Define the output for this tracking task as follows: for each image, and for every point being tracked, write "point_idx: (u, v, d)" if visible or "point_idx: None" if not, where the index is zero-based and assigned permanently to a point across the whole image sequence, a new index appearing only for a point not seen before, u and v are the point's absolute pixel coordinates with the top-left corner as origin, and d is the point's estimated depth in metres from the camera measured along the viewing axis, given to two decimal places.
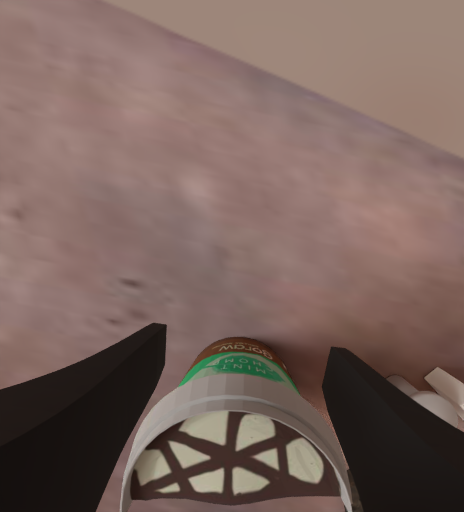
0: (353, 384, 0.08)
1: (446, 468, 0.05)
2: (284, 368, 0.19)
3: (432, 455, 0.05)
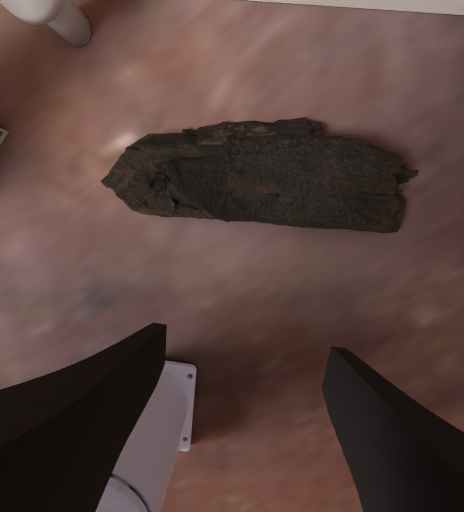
0: (353, 384, 0.08)
1: (446, 468, 0.05)
2: None
3: (432, 455, 0.05)
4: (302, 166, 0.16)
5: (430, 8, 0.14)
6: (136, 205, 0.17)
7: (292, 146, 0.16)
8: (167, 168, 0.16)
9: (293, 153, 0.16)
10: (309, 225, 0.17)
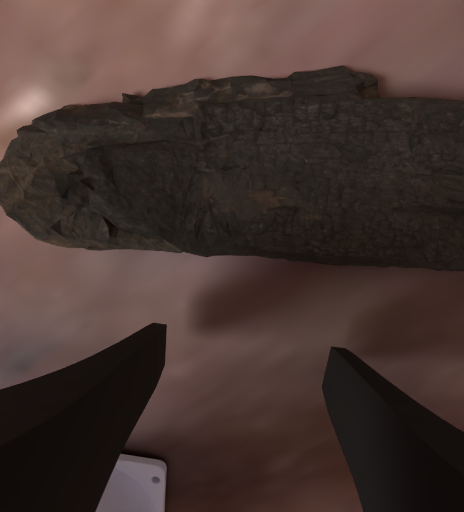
0: (353, 384, 0.08)
1: (446, 468, 0.05)
2: None
3: (432, 455, 0.05)
4: (342, 154, 0.08)
5: None
6: (42, 232, 0.09)
7: (324, 116, 0.08)
8: (87, 163, 0.08)
9: (325, 130, 0.08)
10: (354, 262, 0.09)
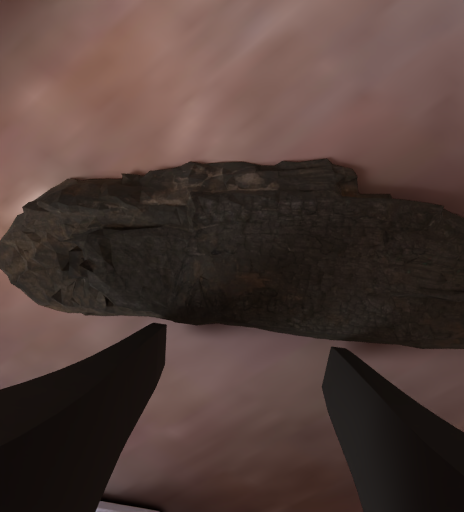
0: (353, 384, 0.08)
1: (446, 467, 0.05)
2: None
3: (432, 455, 0.05)
4: (322, 245, 0.09)
5: None
6: (43, 299, 0.10)
7: (306, 212, 0.09)
8: (87, 246, 0.09)
9: (307, 224, 0.09)
10: (331, 338, 0.10)
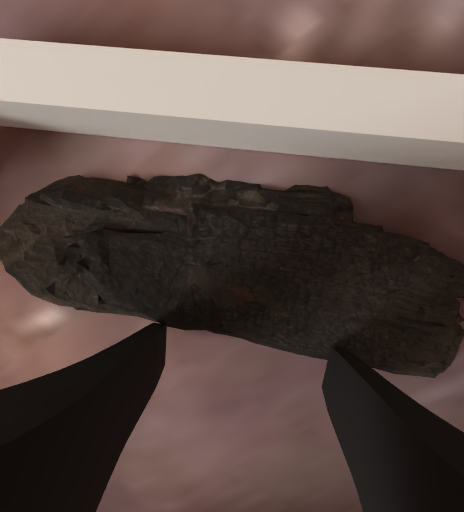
0: (353, 384, 0.08)
1: (446, 467, 0.05)
2: None
3: (432, 455, 0.05)
4: (313, 268, 0.09)
5: None
6: (36, 289, 0.10)
7: (300, 235, 0.09)
8: (86, 244, 0.09)
9: (301, 246, 0.09)
10: (312, 355, 0.10)
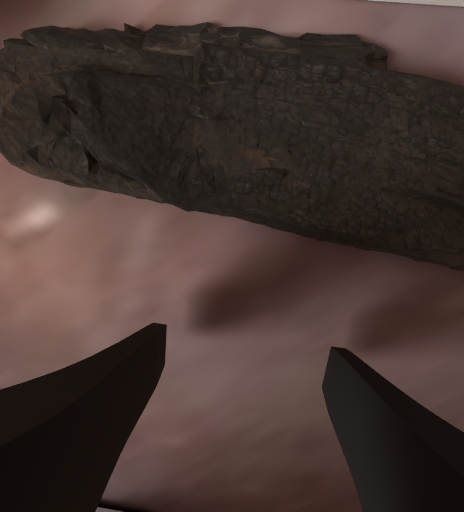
0: (353, 384, 0.08)
1: (446, 468, 0.05)
2: None
3: (432, 455, 0.05)
4: (340, 123, 0.08)
5: None
6: (16, 155, 0.09)
7: (328, 79, 0.08)
8: (74, 85, 0.08)
9: (327, 94, 0.08)
10: (335, 238, 0.09)
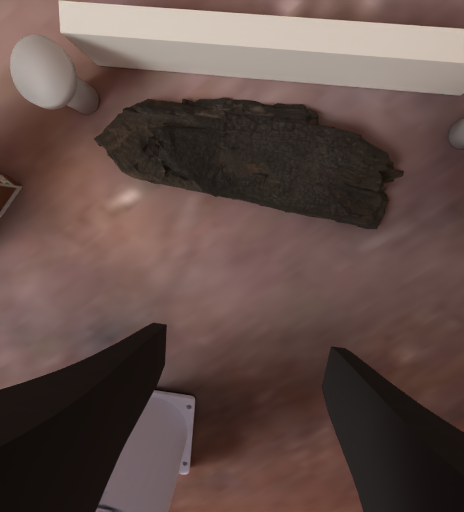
0: (353, 384, 0.08)
1: (446, 468, 0.05)
2: None
3: (432, 455, 0.05)
4: (294, 150, 0.16)
5: (405, 88, 0.16)
6: (126, 167, 0.17)
7: (286, 129, 0.16)
8: (162, 133, 0.16)
9: (286, 136, 0.16)
10: (293, 210, 0.17)
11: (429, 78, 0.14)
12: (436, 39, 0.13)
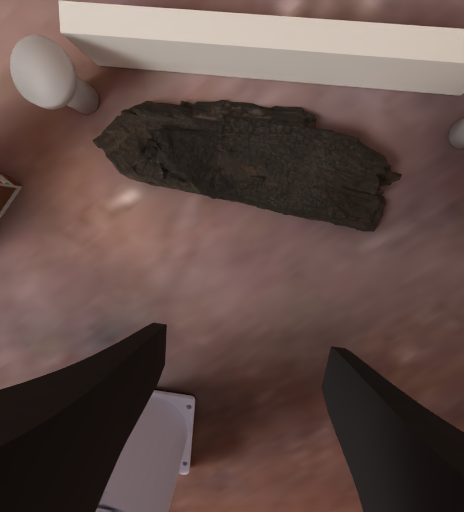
0: (353, 384, 0.08)
1: (446, 468, 0.05)
2: None
3: (432, 455, 0.05)
4: (291, 153, 0.16)
5: (405, 88, 0.16)
6: (124, 169, 0.17)
7: (284, 132, 0.16)
8: (160, 135, 0.16)
9: (284, 139, 0.16)
10: (291, 212, 0.17)
11: (429, 78, 0.14)
12: (436, 39, 0.13)
